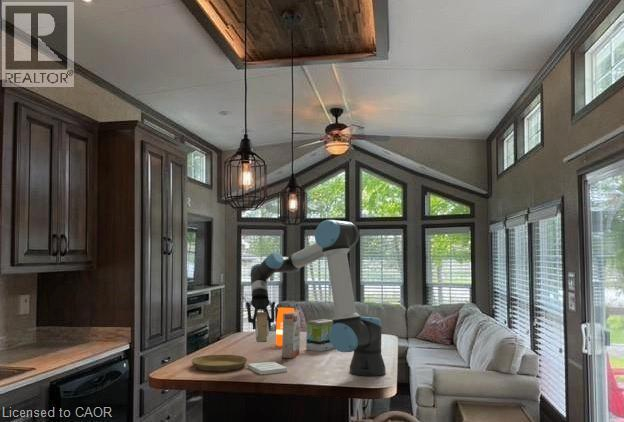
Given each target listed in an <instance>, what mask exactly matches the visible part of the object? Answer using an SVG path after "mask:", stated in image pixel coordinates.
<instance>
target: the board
mask: <svg viewBox="0 0 624 422" xmlns="http://www.w3.org/2000/svg"><path fill="white" fill-rule="evenodd" d="M247 369H249V370H250V371H253V372H255V373H257V374H258V373H259V375H260V374H261V376H262V374H264V375H271V374H279V373H287V372H288V367H286V366H285V365H282V364H280V363H277V362H275V361H266V362H255V363H247Z"/></svg>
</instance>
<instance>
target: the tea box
mask: <svg viewBox="0 0 624 422" xmlns="http://www.w3.org/2000/svg"><path fill="white" fill-rule="evenodd" d="M332 326H333V321H332V319H326V318H322V319H321V318H320V319H313V320H307V321H306V339H305V341H306V342H305V349H306V350H309V351H313V352H323V351H326V350H327V351H328V350H333V349H335V348H334V347H333V346H332V344H331V342H330V339H329V331H330V330H331V327H332Z"/></svg>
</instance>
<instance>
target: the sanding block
mask: <svg viewBox="0 0 624 422" xmlns="http://www.w3.org/2000/svg"><path fill="white" fill-rule="evenodd" d="M256 321H257V326H258V337H256V336H255V341H256V342H257V343H267V342H268V340H267V339H268V337H267V313H266V312H263V311H258V312H257V317H256Z"/></svg>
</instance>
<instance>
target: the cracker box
mask: <svg viewBox="0 0 624 422" xmlns="http://www.w3.org/2000/svg"><path fill="white" fill-rule="evenodd" d="M300 336H301V311H300V310H299V311H297V310H296V311H295V310H294V311H289V312H287V313H285V314H283V339H282V346H281V358H282V359H294V358H296V356H298V355H299V354H300V343H301V342H300V341H301V340H300Z"/></svg>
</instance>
